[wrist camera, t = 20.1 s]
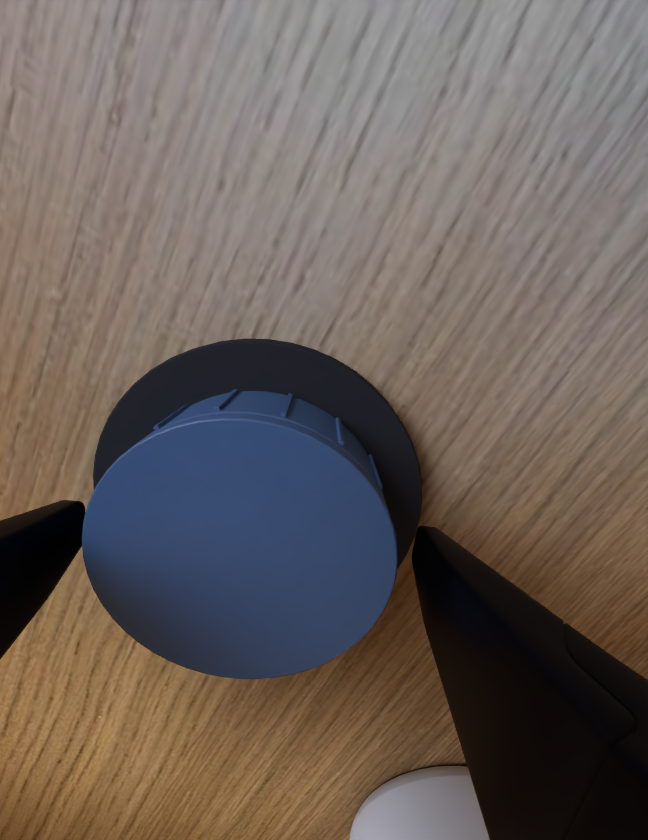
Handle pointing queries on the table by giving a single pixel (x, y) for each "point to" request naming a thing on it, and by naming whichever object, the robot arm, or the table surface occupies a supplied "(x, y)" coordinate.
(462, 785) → the mug
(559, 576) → the table surface
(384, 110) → the table surface
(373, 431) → the coaster
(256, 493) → the jar lid
